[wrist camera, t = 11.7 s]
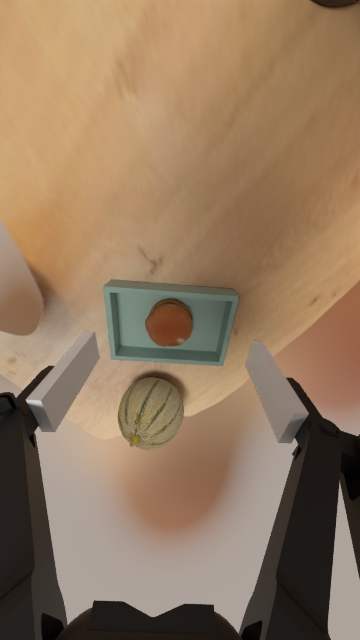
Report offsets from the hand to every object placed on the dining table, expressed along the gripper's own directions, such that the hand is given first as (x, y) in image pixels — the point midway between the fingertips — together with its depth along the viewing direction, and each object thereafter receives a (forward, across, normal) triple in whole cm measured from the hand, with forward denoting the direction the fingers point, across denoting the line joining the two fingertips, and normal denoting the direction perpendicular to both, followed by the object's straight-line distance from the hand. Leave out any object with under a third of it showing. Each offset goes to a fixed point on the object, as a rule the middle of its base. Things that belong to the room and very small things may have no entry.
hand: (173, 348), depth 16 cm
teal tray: (+23, -1, -10) cm, 25 cm away
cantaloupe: (+22, -5, -30) cm, 37 cm away
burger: (+22, -1, -9) cm, 24 cm away
